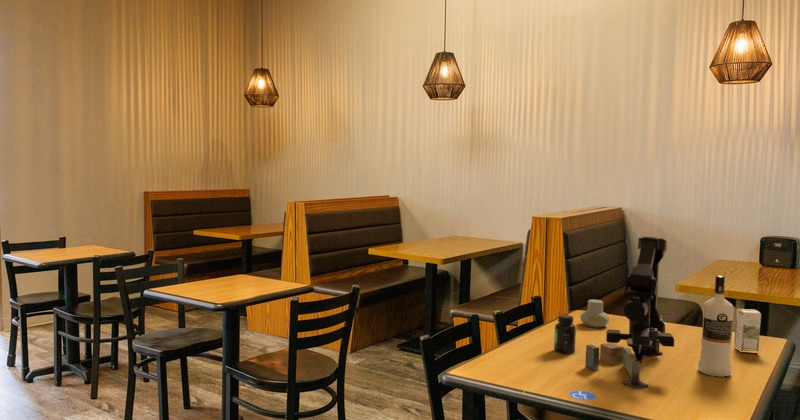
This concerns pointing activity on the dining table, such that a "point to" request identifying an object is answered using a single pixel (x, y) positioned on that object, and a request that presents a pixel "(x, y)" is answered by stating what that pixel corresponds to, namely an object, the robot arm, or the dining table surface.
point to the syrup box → (747, 329)
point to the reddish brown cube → (611, 353)
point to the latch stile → (592, 357)
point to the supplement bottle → (565, 335)
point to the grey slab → (628, 360)
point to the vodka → (716, 333)
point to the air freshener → (594, 314)
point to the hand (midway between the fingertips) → (638, 366)
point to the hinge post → (635, 377)
